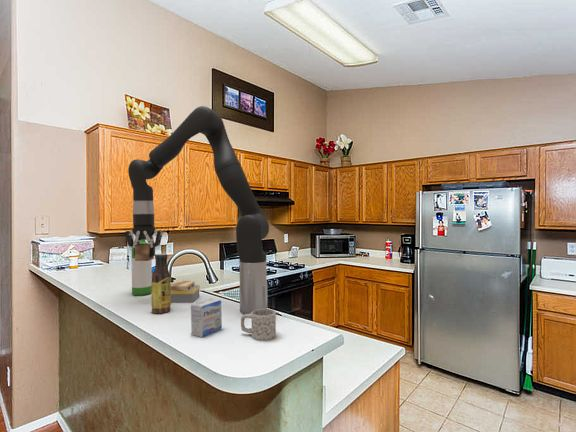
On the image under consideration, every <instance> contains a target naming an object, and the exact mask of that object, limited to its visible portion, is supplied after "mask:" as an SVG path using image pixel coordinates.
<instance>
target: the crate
mask: <svg viewBox="0 0 576 432" xmlns="http://www.w3.org/2000/svg"><path fill="white" fill-rule="evenodd" d="M149 260H152V261H153V260H155V256H154V257H153V258H150V244H149V243H148V244H137V245H135V261H149Z"/></svg>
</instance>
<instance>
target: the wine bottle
mask: <svg viewBox="0 0 576 432" xmlns="http://www.w3.org/2000/svg"><path fill="white" fill-rule="evenodd" d="M140 244H149V243H148V242H147V240H144V239H142V240H141V242H140ZM152 261H153V259H152V260H149V261H135V256H134V248H133V247H131V293H132V295H133V296H141V297H142V296H147V295H149V294H152V273H153V270H152V269H153V268H152V265H153V264H152Z"/></svg>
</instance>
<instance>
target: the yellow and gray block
mask: <svg viewBox="0 0 576 432" xmlns="http://www.w3.org/2000/svg"><path fill="white" fill-rule="evenodd" d="M200 288H201V286H200V285H199V284H198V285H194V286H192V287H191V288H188V290H187V291H171V303H194V302H195V301H196V300H197V299H198V298H199V297H200Z"/></svg>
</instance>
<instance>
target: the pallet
mask: <svg viewBox="0 0 576 432" xmlns="http://www.w3.org/2000/svg"><path fill="white" fill-rule="evenodd" d="M194 285H195V280H174V281H173V282H171V291H187V290H188V288H191V287H192V286H194Z"/></svg>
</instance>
